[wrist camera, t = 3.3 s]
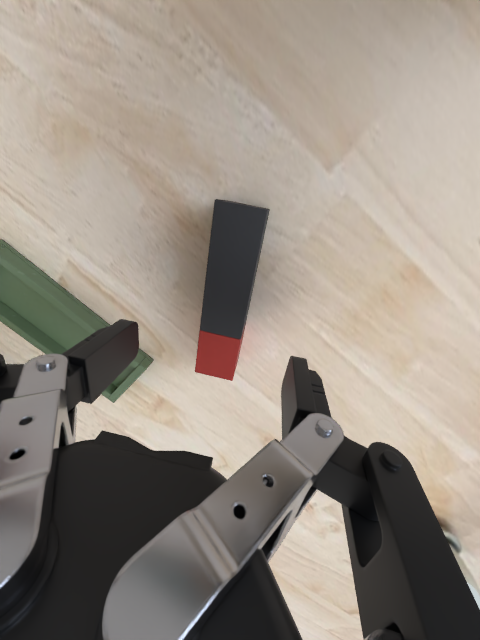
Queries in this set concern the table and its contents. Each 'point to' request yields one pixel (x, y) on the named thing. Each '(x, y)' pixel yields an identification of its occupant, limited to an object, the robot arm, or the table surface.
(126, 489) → the robot arm
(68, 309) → the tray
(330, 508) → the table surface
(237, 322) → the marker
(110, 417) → the table surface
